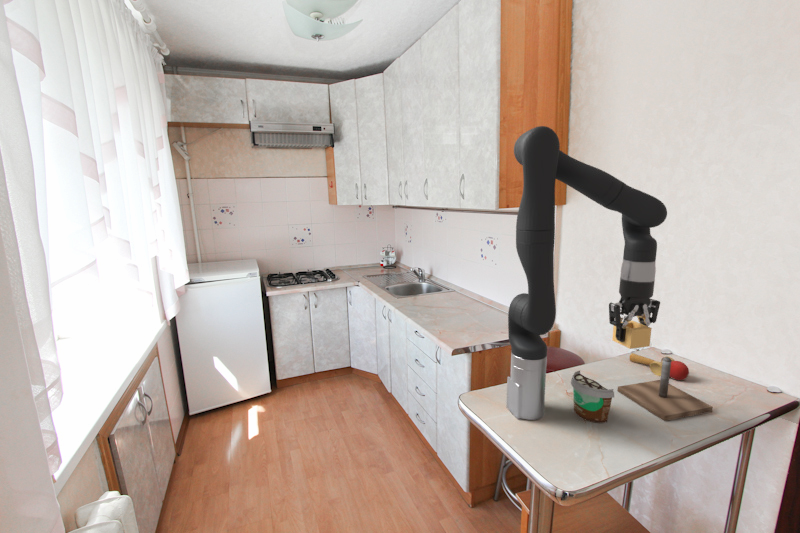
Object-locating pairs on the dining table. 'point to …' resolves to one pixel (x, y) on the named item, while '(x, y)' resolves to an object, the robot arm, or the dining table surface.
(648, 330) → the tan hollow square block
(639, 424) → the dining table surface
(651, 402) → the needle stand
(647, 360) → the kendama
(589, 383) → the food container
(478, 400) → the dining table surface
